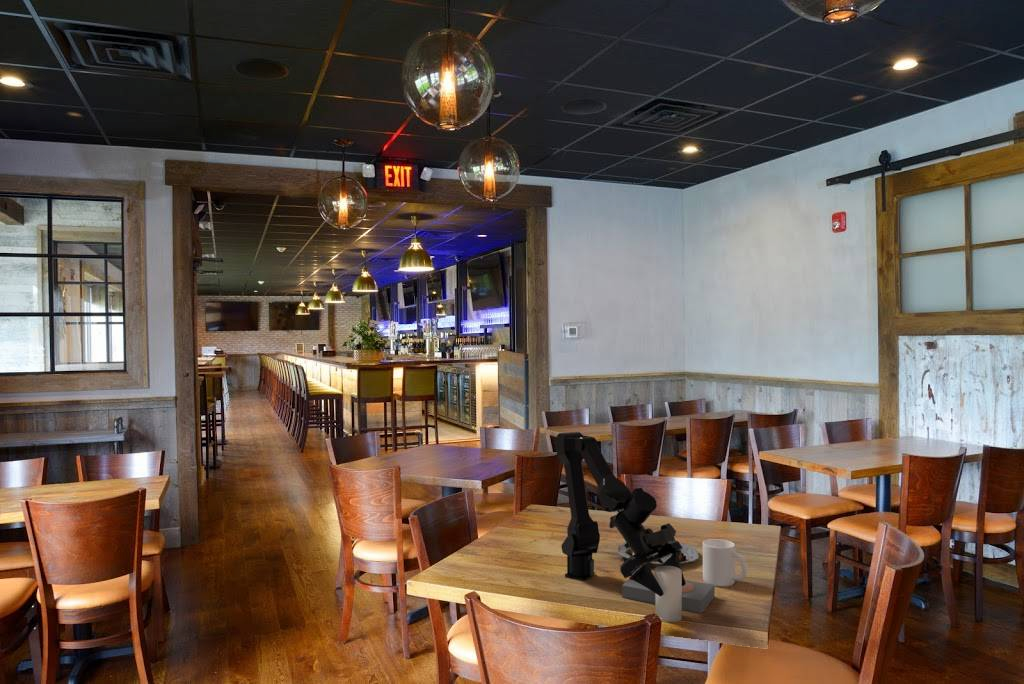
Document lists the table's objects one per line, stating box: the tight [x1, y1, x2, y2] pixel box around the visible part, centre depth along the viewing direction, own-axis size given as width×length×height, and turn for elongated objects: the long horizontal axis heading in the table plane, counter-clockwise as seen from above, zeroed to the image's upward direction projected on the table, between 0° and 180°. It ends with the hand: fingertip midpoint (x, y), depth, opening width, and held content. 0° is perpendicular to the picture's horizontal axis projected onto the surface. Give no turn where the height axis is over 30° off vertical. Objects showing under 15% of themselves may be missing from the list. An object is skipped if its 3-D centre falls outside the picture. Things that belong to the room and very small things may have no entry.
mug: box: [702, 538, 748, 588], centre depth 180 cm, size 12×8×10 cm
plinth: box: [621, 573, 716, 614], centre depth 170 cm, size 20×12×3 cm, turn 59°
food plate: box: [617, 541, 699, 566], centre depth 203 cm, size 25×23×4 cm
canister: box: [654, 565, 683, 623], centre depth 158 cm, size 6×6×11 cm
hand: (673, 590), depth 157 cm, fingers open, 9 cm apart
